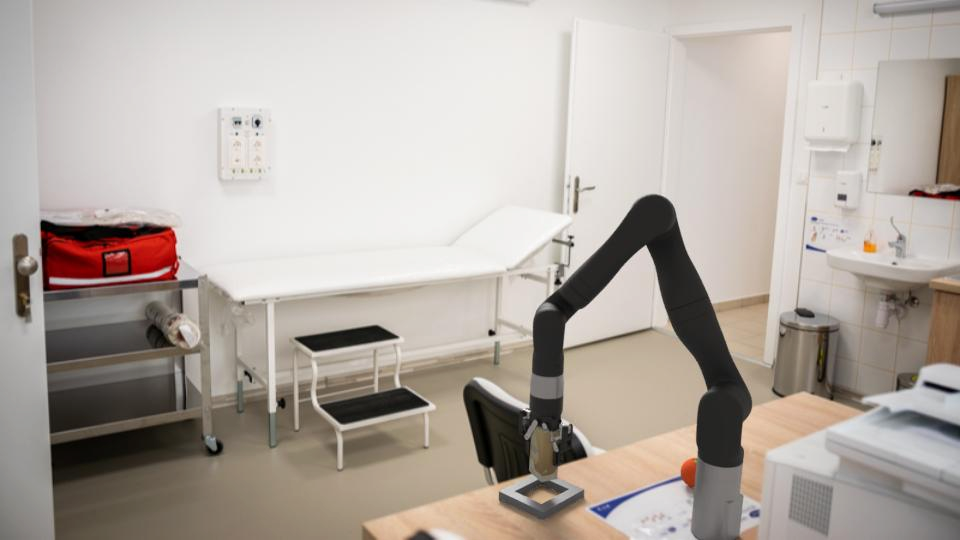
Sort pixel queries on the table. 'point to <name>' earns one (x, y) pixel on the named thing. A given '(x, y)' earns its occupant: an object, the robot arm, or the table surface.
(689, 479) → the clementine
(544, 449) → the skincare box
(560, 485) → the holder
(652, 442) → the table surface
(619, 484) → the table surface
